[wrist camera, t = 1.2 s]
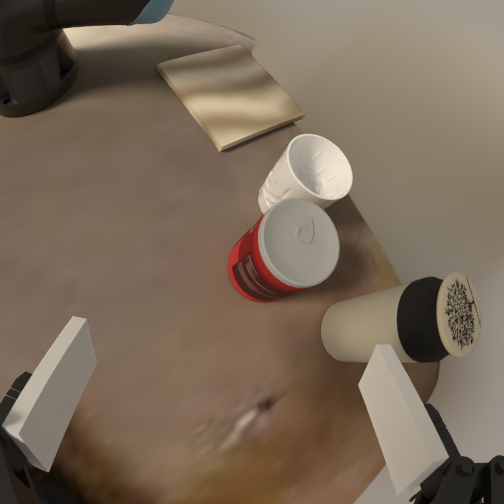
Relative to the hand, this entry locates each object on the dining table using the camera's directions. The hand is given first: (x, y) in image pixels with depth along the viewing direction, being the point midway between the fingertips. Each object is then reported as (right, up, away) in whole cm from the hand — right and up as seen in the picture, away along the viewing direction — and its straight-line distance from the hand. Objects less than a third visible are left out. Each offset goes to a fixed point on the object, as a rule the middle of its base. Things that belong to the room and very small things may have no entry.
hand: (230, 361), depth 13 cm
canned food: (+2, +3, +23) cm, 23 cm away
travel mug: (+13, -5, +25) cm, 28 cm away
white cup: (+5, +11, +27) cm, 29 cm away
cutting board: (-2, +29, +29) cm, 41 cm away
